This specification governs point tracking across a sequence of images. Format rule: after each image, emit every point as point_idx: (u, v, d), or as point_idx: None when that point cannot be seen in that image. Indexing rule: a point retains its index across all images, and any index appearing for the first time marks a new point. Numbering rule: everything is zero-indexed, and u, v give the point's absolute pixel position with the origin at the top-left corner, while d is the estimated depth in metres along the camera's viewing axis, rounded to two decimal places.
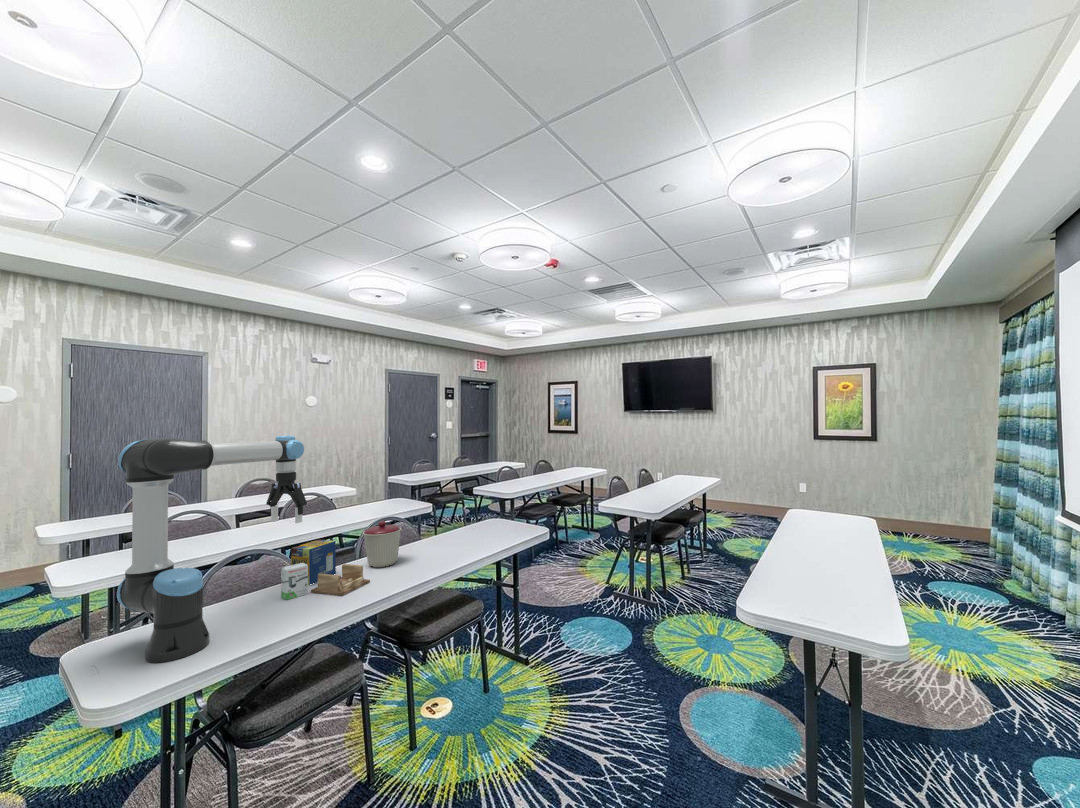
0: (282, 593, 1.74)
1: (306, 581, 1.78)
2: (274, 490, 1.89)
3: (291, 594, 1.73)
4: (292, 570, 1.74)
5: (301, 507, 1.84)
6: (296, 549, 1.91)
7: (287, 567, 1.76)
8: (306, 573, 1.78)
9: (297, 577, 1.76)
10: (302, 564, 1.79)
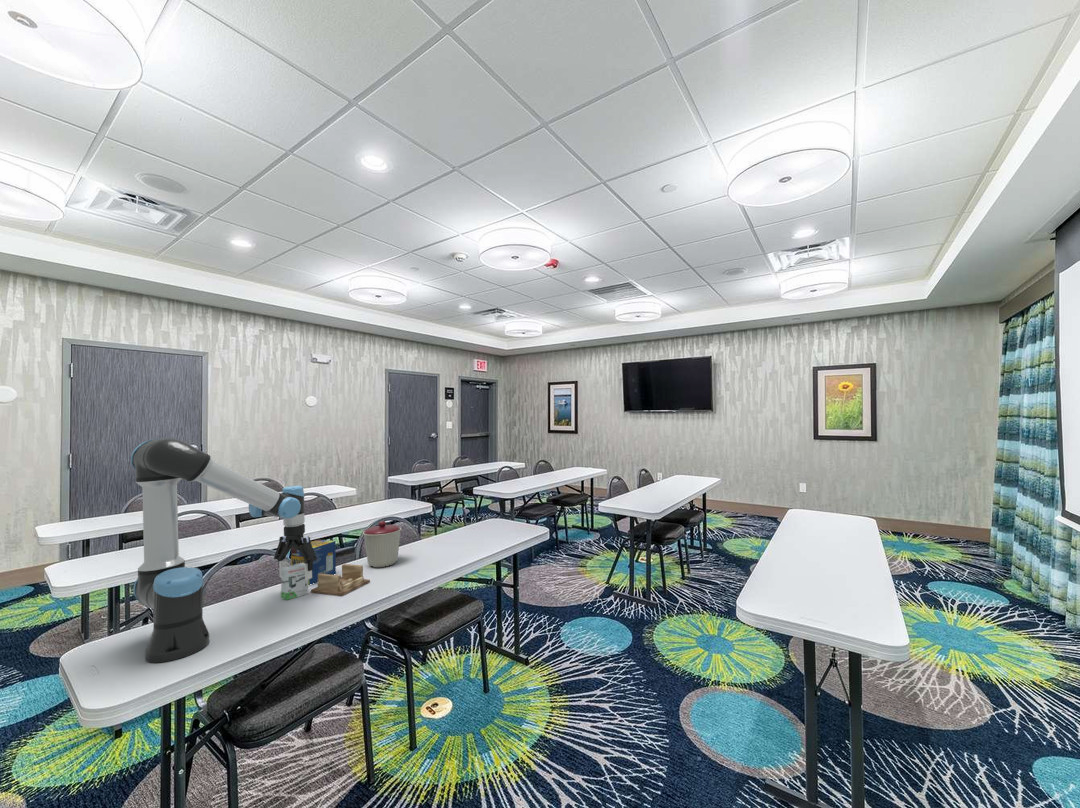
0: (282, 593, 1.74)
1: (306, 581, 1.78)
2: (282, 544, 1.79)
3: (291, 594, 1.73)
4: (292, 570, 1.74)
5: (311, 563, 1.75)
6: (296, 549, 1.91)
7: (287, 567, 1.76)
8: None
9: (297, 577, 1.76)
10: (302, 564, 1.79)
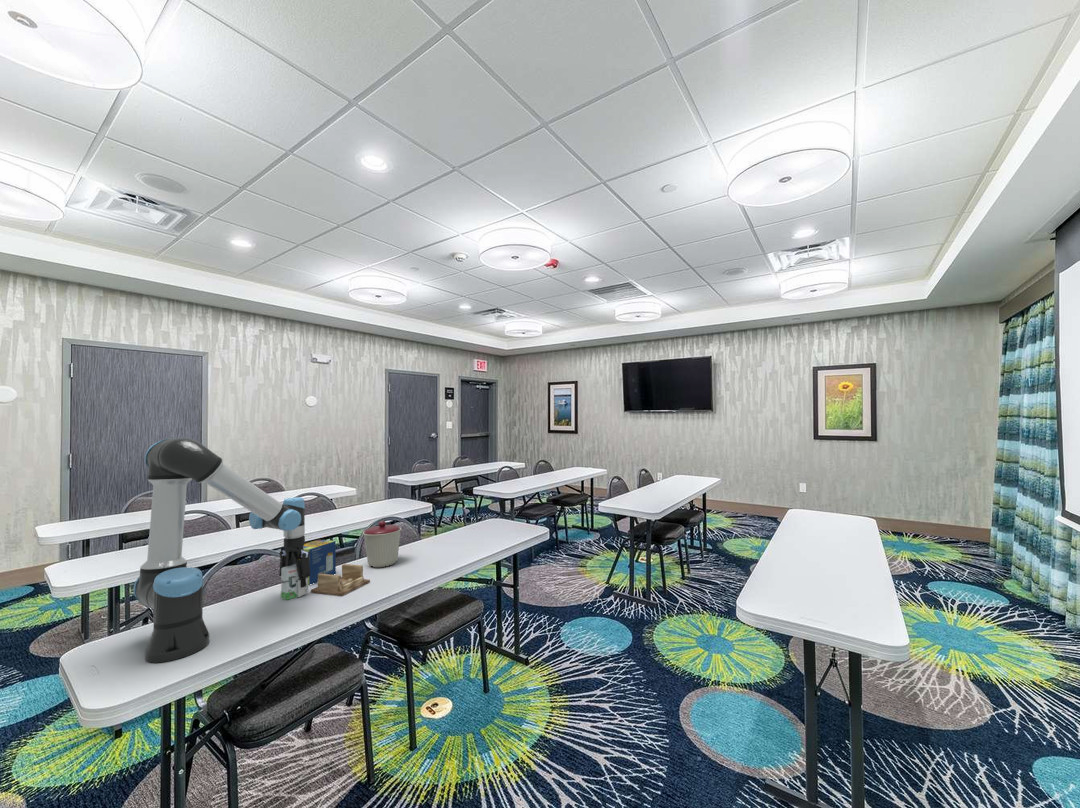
0: (282, 593, 1.74)
1: (306, 581, 1.78)
2: (283, 558, 1.79)
3: (291, 594, 1.73)
4: (292, 570, 1.74)
5: (304, 579, 1.75)
6: None
7: (287, 567, 1.76)
8: None
9: (297, 577, 1.76)
10: None
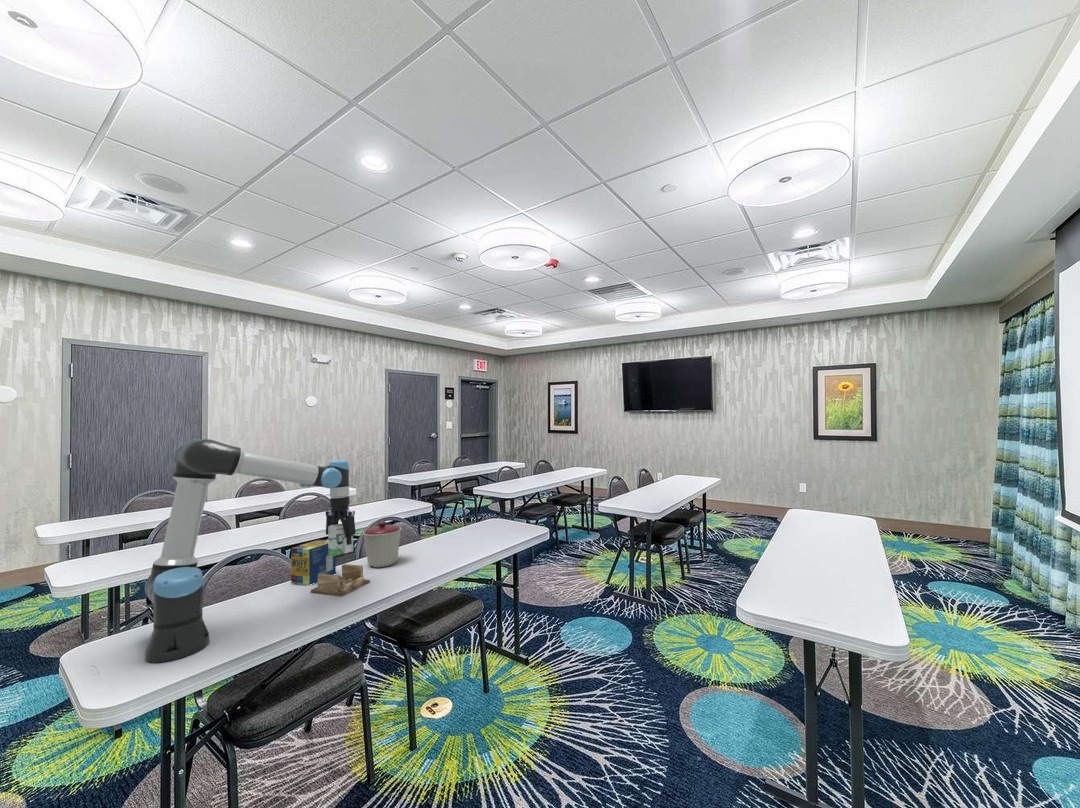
0: (329, 550, 1.82)
1: (351, 539, 1.86)
2: (329, 517, 1.87)
3: (338, 550, 1.82)
4: (339, 528, 1.83)
5: (350, 537, 1.83)
6: (296, 549, 1.91)
7: (334, 525, 1.84)
8: None
9: (343, 534, 1.84)
10: None
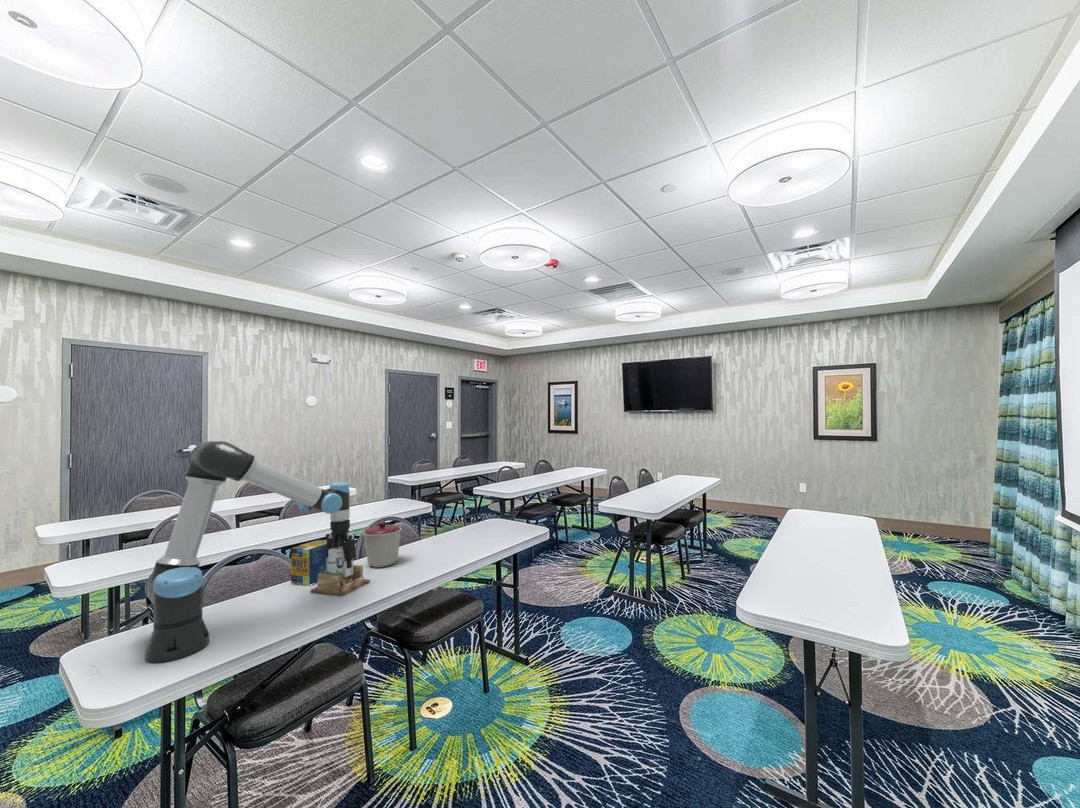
0: (329, 573, 1.81)
1: None
2: (329, 540, 1.86)
3: (338, 574, 1.81)
4: (339, 551, 1.82)
5: (350, 560, 1.83)
6: (296, 549, 1.91)
7: (334, 549, 1.83)
8: None
9: (344, 558, 1.83)
10: None
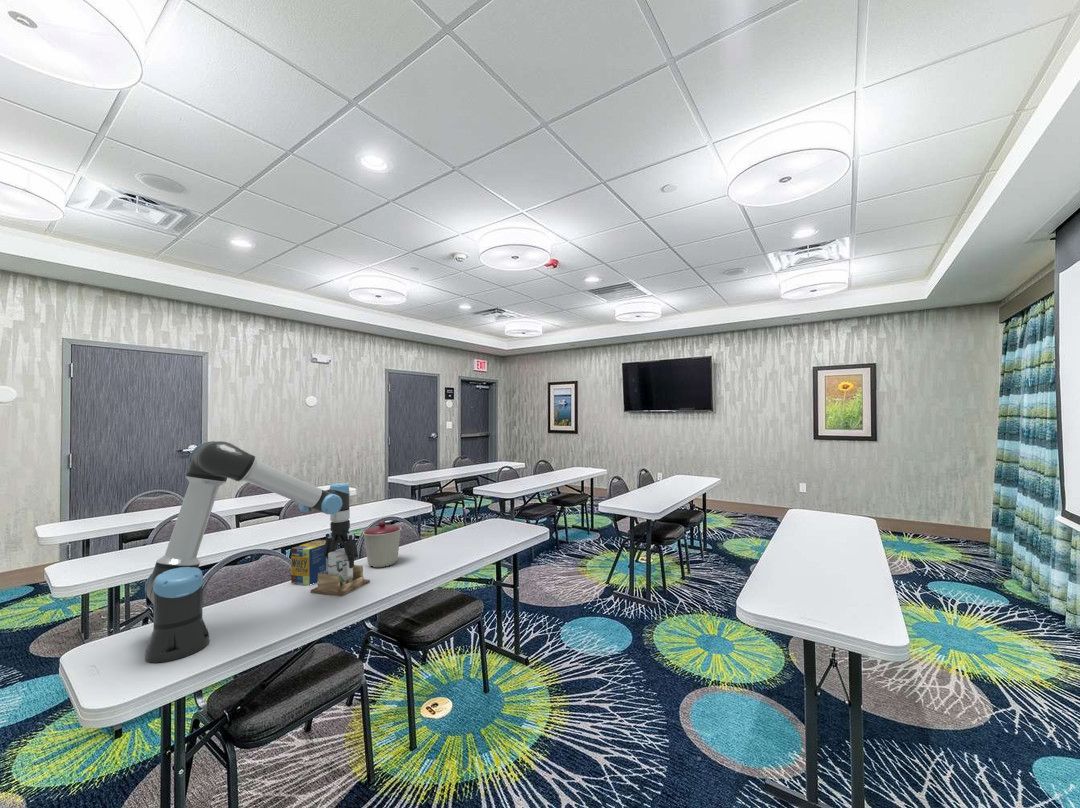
0: None
1: None
2: (329, 540, 1.86)
3: None
4: (339, 555, 1.82)
5: (352, 560, 1.82)
6: (296, 549, 1.91)
7: (334, 552, 1.83)
8: None
9: (344, 561, 1.83)
10: None
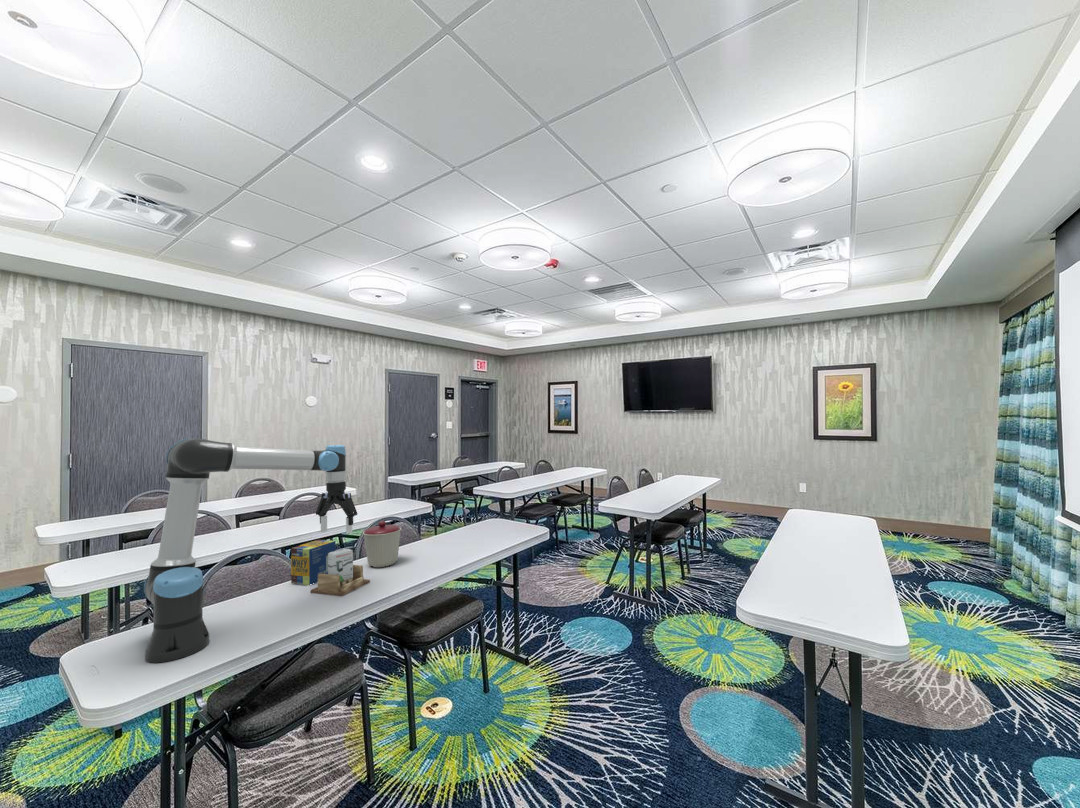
0: None
1: (351, 566, 1.86)
2: (324, 500, 1.87)
3: None
4: (339, 555, 1.82)
5: (352, 517, 1.82)
6: (296, 549, 1.91)
7: (334, 552, 1.83)
8: (351, 558, 1.86)
9: (344, 561, 1.83)
10: (347, 549, 1.87)
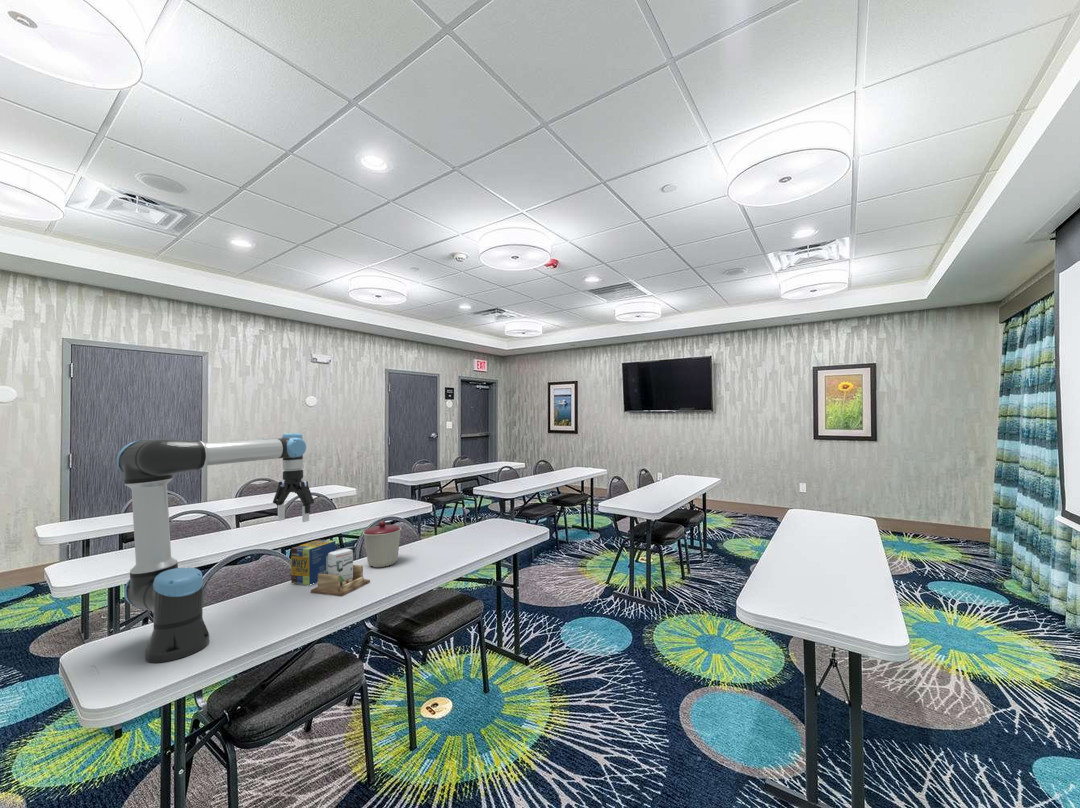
0: None
1: (351, 566, 1.86)
2: (281, 488, 1.86)
3: None
4: (339, 555, 1.82)
5: (308, 506, 1.81)
6: (296, 549, 1.91)
7: (334, 552, 1.83)
8: (351, 558, 1.86)
9: (344, 561, 1.83)
10: (347, 549, 1.87)
